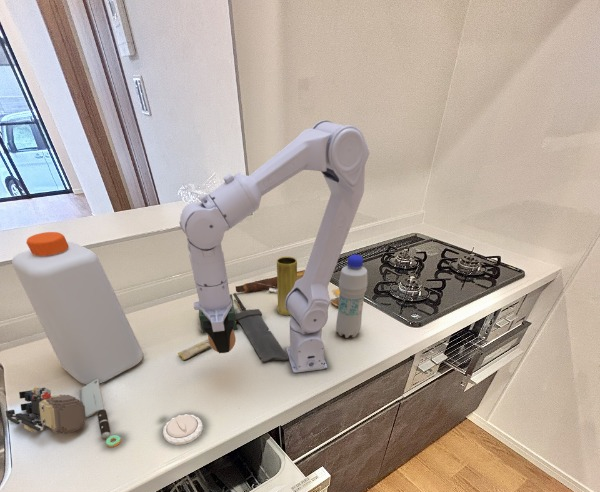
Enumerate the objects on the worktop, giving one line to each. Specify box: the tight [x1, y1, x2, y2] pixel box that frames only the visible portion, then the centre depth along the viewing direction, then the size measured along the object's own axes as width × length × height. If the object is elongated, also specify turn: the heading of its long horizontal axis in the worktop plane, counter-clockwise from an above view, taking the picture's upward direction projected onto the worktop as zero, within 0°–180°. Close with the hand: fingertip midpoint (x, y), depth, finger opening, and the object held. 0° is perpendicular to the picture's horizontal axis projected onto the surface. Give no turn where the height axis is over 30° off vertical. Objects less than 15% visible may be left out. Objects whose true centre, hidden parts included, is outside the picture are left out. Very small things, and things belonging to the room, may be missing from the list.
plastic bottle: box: [11, 231, 144, 385], centre depth 72 cm, size 15×15×28 cm
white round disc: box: [162, 413, 204, 446], centre depth 66 cm, size 7×7×2 cm
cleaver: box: [79, 379, 112, 440], centre depth 69 cm, size 17×1×5 cm
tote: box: [198, 293, 238, 334], centre depth 93 cm, size 10×9×5 cm
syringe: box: [253, 281, 278, 294], centre depth 107 cm, size 10×2×2 cm
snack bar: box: [177, 339, 212, 361], centre depth 85 cm, size 10×2×3 cm
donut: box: [105, 434, 122, 448], centre depth 66 cm, size 2×10×1 cm, turn 121°
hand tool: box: [235, 269, 305, 293], centre depth 109 cm, size 26×3×4 cm, turn 113°
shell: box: [330, 288, 340, 307], centre depth 100 cm, size 8×4×5 cm
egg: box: [207, 330, 237, 354], centre depth 71 cm, size 5×5×7 cm
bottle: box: [335, 254, 369, 339], centre depth 84 cm, size 7×7×20 cm
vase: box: [276, 256, 298, 316], centre depth 94 cm, size 6×6×14 cm
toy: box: [5, 386, 87, 435], centre depth 65 cm, size 7×8×15 cm
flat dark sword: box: [232, 292, 289, 363], centre depth 92 cm, size 7×35×2 cm, turn 24°
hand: (223, 343), depth 72 cm, fingers closed on egg, 5 cm apart
